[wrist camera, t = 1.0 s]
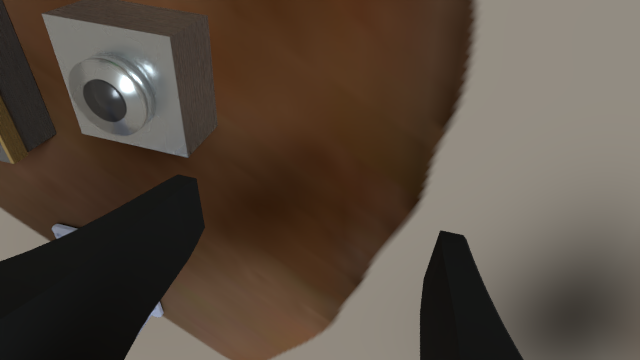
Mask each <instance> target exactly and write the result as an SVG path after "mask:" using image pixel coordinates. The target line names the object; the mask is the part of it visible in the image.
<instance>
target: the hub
mask: <svg viewBox="0 0 640 360" xmlns="http://www.w3.org/2000/svg"><path fill="white" fill-rule="evenodd" d="M42 16H43V19H44V22H45V25H46V28H47V31H48V33H49V36H50V39H51V42H52V45H53V48H54V51H55V54H56V57H57V60H58V63H59V66H60V69H61V72H62V75H63V78H64V81H65V84H66V87H67V90H68V93H69V96H70V99H71V102H72V105H73V107H74V110H75V113H76V116H77V119H78V122H79V125H80V128H81V131H82V134H86V135H91V136H95V137H100V138H104V139H108V140H113V141H117V142H121V143H126V144H130V145H135V146H139V147H143V148H148V149H152V150H157V151H161V152H165V153H170V154H174V155H178V156H183V157H187V158H188V157H189V156H190V155H191V154H192V153H193V152H194V151H195V149H196V148H197V147H198V146H199V145H200V144H201V143H202V142H203V141H204V140H205V139H206V138H207V137H208V136H209V134H210V133H211V132H212V131H213V130H214V129H215V128H216V127H217V115H216V104H215V93H214V81H213V70H212V59H211V48H210V37H209V25H208V15H202V14H196V13H190V12H185V11H179V10H173V9H167V8H161V7H155V6H149V5H143V4H137V3H132V2H126V1H120V0H82V1H79V2H76V3H73V4H70V5H67V6H64V7H61V8H57V9H54V10H51V11H48V12H45V13H42Z"/></svg>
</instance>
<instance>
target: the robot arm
mask: <svg viewBox="0 0 640 360" xmlns="http://www.w3.org/2000/svg"><path fill="white" fill-rule="evenodd" d="M204 228H205V226H204V220H203V214H202V208H201V203H200V197H199V191H198V185H197V180H196V178H191V177H187V176H182V175H176V176H174V177H172V178H170V179H169V180H167V181H165V182H163V183H161V184H160V185H158V186H156V187H154V188H153V189H151V190H149V191H147V192H146V193H144V194H142V195H140V196H139V197H137V198H135V199H133V200H131V201H130V202H128V203H126V204H124V205H123V206H121V207H119V208H117V209H115V210H114V211H112V212H110V213H108V214H106V215H104V216H102V217H100V218H98V219H96V220H94V221H92V222H90V223H89V224H87V225H85V226H83V227H81V228H79V229H77V228H73V227H69V226H65V225H61V224H55V225H54V226H53V227H52V230H53V232H54V234H55V236H56V238H57V239H55V240H53V241H51V242H49V243H46V244H44V245H42V246H39V247H37V248H35V249H32V250H30V251H27V252H25V253H22V254H19V255H16V256H14V257H11V258H8V259H6V260H3V261H0V360H124V359H125V357H126V355H127V353H128V351H129V350H130V348H131V346H132V344H133V342H134V341H135V339H136V337H137V336H138V334H139V333H140V332H141V330H142V328H143V327H144V326H145V324H146V323H147V321H148V320H149V318H150V317H151V316H155V317H161V316H162V315H163V310H162V307H161V304H160V300H161V298H162V297H163V295H164V294H165V293H166V291H167V290H168V288H169V287H170V285H171V284H172V282H173V281H174V280H175V278H176V277H177V275H178V274H179V272H180V271H181V269H182V268H183V266H184V265H185V263H186V262H187V260H188V259H189V257H190V256H191V254H192V252H193V250H194V248H195V246H196V244H197V243H198V240H199V238H200V236H201V234H202V232H203V230H204ZM420 360H523V358H522V356H521V355H520V353H519V351H518V349H517V348H516V346H515V345H514V342H513V341H512V339H511V337H510V335H509V333H508V332H507V330H506V328H505V326H504V324H503V322H502V320H501V318H500V317H499V315H498V312H497V310H496V308H495V306H494V304H493V302H492V300H491V298H490V296H489V294H488V292H487V290H486V287H485V285H484V283H483V281H482V278H481V276H480V274H479V271H478V269H477V266H476V264H475V261H474V259H473V256H472V254H471V251H470V248H469V245H468V243H467V240H466V238H465V237H464V236H463V235H460V234H455V233H450V232H446V231H440V233H439V236H438V239H437V242H436V245H435V247H434V250H433V253H432V256H431V259H430V262H429V265H428V268H427V271H426V274H425V277H424V281H423V291H422V299H421V309H420Z"/></svg>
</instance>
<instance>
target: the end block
mask: <svg viewBox="0 0 640 360" xmlns="http://www.w3.org/2000/svg"><path fill="white" fill-rule="evenodd" d="M55 134H56V131H55V129H54V126H53V124H52V122H51V119H50V117H49V114H48V112H47V109H46V107H45V104H44V102H43V99H42V97H41V95H40V92H39V90H38V87H37V85H36V82H35V80H34V77H33V75H32V72H31V70H30V68H29V65H28V63H27V60H26V58H25V55H24V53H23V50H22V48H21V45H20V43H19V41H18V38H17V36H16V33H15V31H14V28H13V26H12V23H11V21H10V18H9V16H8V14H7V11H6V9H5V6H4V4H3V1H2V0H0V161H4V162H8V163H13V164H15V163H17V162H18V161H20V160H21V159H23V158H24V157H26V156H27V155H28V153H27V152H29V151H30V150H32V149H33V148H35V147H37V146H38V145H40V144H41V143H43V142H44V141H46V140H47V139H49V138H50V137H52V136H53V135H55Z"/></svg>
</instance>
